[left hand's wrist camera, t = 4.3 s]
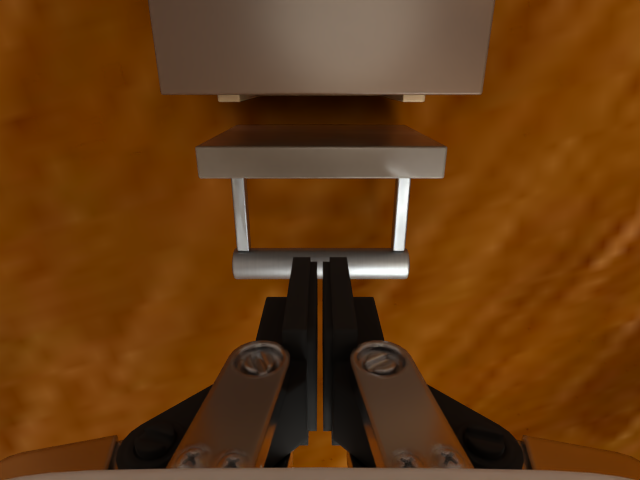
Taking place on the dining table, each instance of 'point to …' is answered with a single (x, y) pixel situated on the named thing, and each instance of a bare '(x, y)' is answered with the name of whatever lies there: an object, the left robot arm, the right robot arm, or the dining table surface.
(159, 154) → the dining table surface
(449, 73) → the dark brown low box
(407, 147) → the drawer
